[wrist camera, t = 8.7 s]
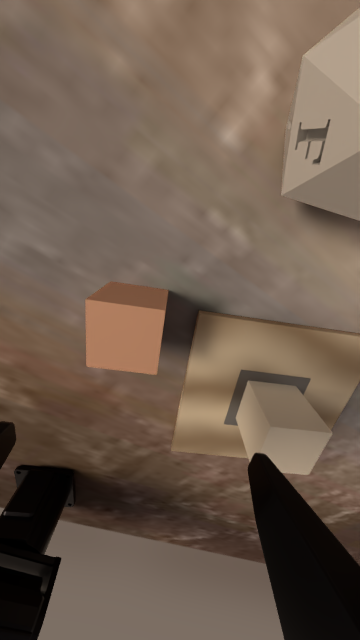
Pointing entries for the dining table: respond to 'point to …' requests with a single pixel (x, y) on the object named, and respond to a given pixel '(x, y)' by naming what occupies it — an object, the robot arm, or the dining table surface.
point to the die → (326, 125)
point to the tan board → (258, 375)
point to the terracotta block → (125, 327)
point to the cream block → (281, 426)
